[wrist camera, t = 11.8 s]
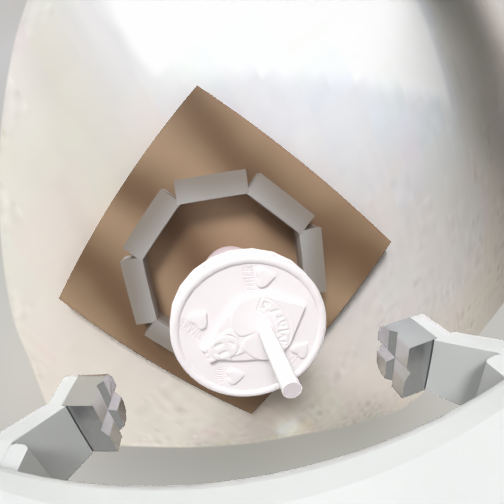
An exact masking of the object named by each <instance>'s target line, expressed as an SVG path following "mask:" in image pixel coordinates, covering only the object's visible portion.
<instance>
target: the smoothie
mask: <svg viewBox="0 0 504 504" xmlns="http://www.w3.org/2000/svg"><path fill="white" fill-rule="evenodd" d="M325 331H326V311H325V306H324V302H323V299H322V297H321V294H320V292H319V290H318V288H317V287H316V285H315V284H314V282H313V281H312V280H311V279H310V278H309V277H308V276H307V274H306V273H305V272H304V271H303V270H302V269H301V268H300V267H298V266H297V265H296V264H295V263H294V262H293V261H292V260H290V259H287V258H285V257H283V256H281V255H279V254H277V253H275V252H272V251H266V250H260V249H254V248H249V249H242V248H239V247H235V246H226V247H222V248H219V249H217V250H216V251H214V252H213V253H212V254H211V255H210V256H209V257H208V258H207V260H206V261H205V262H204V263H202V264H201V265H199V266H198V267H196V268H195V269H194V270H193V271H192V272H191V273H190V274H189V275H188V277H187V278H186V279H185V280H184V281H183V283H182V284H181V285H180V287H179V289H178V291H177V294H176V296H175V298H174V300H173V303H172V308H171V316H170V339H171V344H172V348H173V351H174V353H175V356H176V358H177V360H178V361H179V363H180V365H181V366H182V367H183V369H184V370H185V371H186V372H187V373H188V374H189V375H190V376H191V377H192V378H193V379H194V380H195V381H197V382H198V383H199V384H201V385H203V386H204V387H206V388H208V389H210V390H212V391H215V392H218V393H221V394H225V395H230V396H239V397H249V396H257V395H263V394H267V393H270V392H273V391H276V390H278V389H281V391H282V394H283V395H284V396H285V397H286V398H294V397H297V396H298V395H299V394H300V393H301V391H302V386H301V384H300V382H299V380H298V377H299V376H300V375H301V374H302V373H303V372H305V371H306V369H307V368H308V367H309V366H310V365H311V363H312V362H313V361H314V359H315V358H316V356H317V354H318V352H319V350H320V348H321V346H322V343H323V340H324V336H325Z"/></svg>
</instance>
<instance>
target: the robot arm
mask: <svg viewBox="0 0 504 504" xmlns="http://www.w3.org/2000/svg"><path fill="white" fill-rule="evenodd" d="M378 340H379V341H380V342H381V346H380V348H379V349H378V351H377V363H378V368H379V370H380V372H381V374H382V375H383V376H384V378H386V379H389V380H392V387H393V388H394V390H395V391H396V392H397V393H398V394H399V395H400V397H401V398H404V397H407V396H410V395H412V394H415V393H418V392H420V391H423V390H425V391H427V392H429V393H432V394H434V395H437V396H439V397H441V398H444V399H446V400H449V401H451V402H453V403H456V404H459V405H461V406H459V407H457V408H455V409H453V410H452V411H450V412H448V413H446V414H444V415H442V416H440V417H438V418H436V419H434V420H432V421H430V422H428V423H425V424H423V425H421V426H419V427H417V428H415V429H412V430H410V431H408V432H405V433H403V434H400V435H398V436H396V437H393V438H391V439H388V440H386V441H383V442H380V443H378V444H375V445H372V446H369V447H367V448H364V449H361V450H358V451H355V452H352V453H349V454H346V455H343V456H339V457H336V458H332V459H329V460H325V461H322V462H318V463H314V464H311V465H307V466H303V467H299V468H295V469H290V470H286V471H281V472H276V473H272V474H266V475H260V476H255V477H249V478H242V479H235V480H228V481H220V482H210V483H199V484H185V485H162V486H132V485H108V484H95V483H85V482H75V481H68V479H69V478H70V477H71V476H72V474H73V473H74V472H75V471H76V470H77V469H78V468H79V467H80V466H81V465H82V464H83V463H84V462H85V461H86V460H87V459H88V458H89V457H90V456H91V455H92V454H93V451H101V452H102V451H103V452H109V451H118V450H119V446H120V442H121V438H122V435H121V433H120V431H119V430H120V429H122V428H123V427H124V426H125V422H126V409H125V405H124V402H123V400H122V398H121V397H120V396H119V395H118V394H117V393H115V392H114V391H115V388H116V384H115V382H114V380H113V378H112V376H110V375H109V374H102V375H70V376H65V377H64V379H63V380H62V382H61V384H60V385H59V387H58V389H57V390H56V392H55V394H54V395H53V397H52V399H51V400H50V402H49V404H48V406H47V405H44V406H42V407H40V408H39V409H37V410H36V411H34V412H33V413H31V414H29V415H28V416H26V417H24V418H23V419H21V420H19V421H18V422H16V423H15V424H13V425H11V426H10V427H8V428H6V429H5V430H3V431H2V432H0V504H504V340H500V339H493V338H487V337H481V336H475V335H469V334H463V333H458V332H452V333H449V332H448V331H447V330H445V329H444V328H442V327H441V326H440V325H438V324H437V323H435V322H434V321H432V320H431V319H429V318H428V317H427V316H425V315H424V314H417V315H414V316H412V317H409V318H407V319H404V320H401V321H398V322H394V323H391V324H388V325H385V326H382V327H380V329H379V332H378Z"/></svg>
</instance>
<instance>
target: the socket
mask: <svg viewBox="0 0 504 504" xmlns="http://www.w3.org/2000/svg"><path fill="white" fill-rule="evenodd" d="M390 243H391V241H390V240H389V239H388V238H387V237H385V236H384V235H383V234H382V233H381V232H380V231H379V230H378V229H377V228H376V227H375V226H374V225H373V224H372V223H371V222H370V221H368V220H367V219H366V218H365V217H364V216H363V215H362V214H361V213H360V212H359V211H358V210H356V209H355V208H354V207H353V206H352V205H351V204H350V203H349V202H348V201H346V200H345V199H344V198H343V197H342V196H341V195H340V194H338V193H337V192H336V191H335V190H334V189H333V188H332V187H330V186H329V185H328V184H327V183H326V182H325V181H323V180H322V179H321V178H320V177H319V176H317V175H316V174H315V173H314V172H313V171H311V170H310V169H309V168H308V167H307V166H305V165H304V164H303V163H302V162H300V161H299V160H298V159H297V158H295V157H294V156H293V155H292V154H290V153H289V152H288V151H287V150H285V149H284V148H283V147H282V146H280V145H279V144H278V143H276V142H275V141H274V140H273V139H271V138H270V137H269V136H267V135H266V134H265V133H263V132H262V131H261V130H259V129H258V128H257V127H255V126H254V125H253V124H251V123H250V122H249V121H247V120H246V119H244V118H243V117H242V116H240V115H239V114H238V113H236V112H235V111H233V110H232V109H231V108H229V107H228V106H226V105H225V104H223V103H222V102H221V101H219V100H218V99H216V98H215V97H213V96H212V95H210V94H209V93H207V92H206V91H204V90H203V89H201V88H200V87H198V86H196V88H195V89H194V90H193V91H192V92H191V94H190V95H189V96H188V97H187V98H186V100H185V101H184V102H183V103H182V104H181V106H180V107H179V108H178V109H177V111H176V112H175V113H174V114H173V116H172V117H171V118H170V120H169V121H168V122H167V123H166V125H165V126H164V127H163V129H162V130H161V131H160V133H159V134H158V135H157V137H156V138H155V139H154V141H153V142H152V143H151V145H150V146H149V147H148V149H147V150H146V152H145V153H144V154H143V156H142V157H141V159H140V160H139V162H138V163H137V164H136V166H135V167H134V169H133V170H132V172H131V173H130V175H129V176H128V178H127V179H126V181H125V182H124V184H123V185H122V187H121V188H120V190H119V191H118V193H117V195H116V196H115V198H114V199H113V201H112V202H111V204H110V206H109V207H108V209H107V211H106V212H105V214H104V216H103V217H102V219H101V221H100V222H99V224H98V226H97V227H96V229H95V231H94V232H93V234H92V236H91V238H90V240H89V241H88V243H87V245H86V247H85V248H84V250H83V252H82V254H81V256H80V258H79V260H78V261H77V263H76V265H75V267H74V269H73V271H72V273H71V275H70V277H69V279H68V281H67V283H66V285H65V287H64V289H63V291H62V293H61V295H60V297H59V299H60V300H62V301H63V302H64V303H65V304H67V305H68V306H69V307H71V308H72V309H73V310H75V311H76V312H78V313H79V314H80V315H82V316H83V317H84V318H86V319H87V320H89V321H90V322H91V323H93V324H94V325H96V326H97V327H99V328H100V329H101V330H103V331H104V332H106V333H107V334H109V335H110V336H112V337H113V338H115V339H116V340H118V341H119V342H121V343H122V344H124V345H126V346H127V347H129V348H130V349H132V350H133V351H135V352H137V353H138V354H140V355H142V356H143V357H145V358H146V359H148V360H150V361H151V362H153V363H155V364H156V365H158V366H160V367H162V368H163V369H165V370H167V371H169V372H170V373H172V374H174V375H176V376H177V377H179V378H181V379H183V380H185V381H186V382H188V383H190V384H192V385H194V386H196V387H198V388H200V389H202V390H203V391H205V392H207V393H209V394H211V395H213V396H215V397H217V398H219V399H221V400H223V401H225V402H227V403H230V404H232V405H234V406H236V407H238V408H240V409H242V410H244V411H247V412H249V413H251V414H252V413H253V412H254V411H255V410H256V408H257V407H258V406H259V405H260V404H261V403H262V402H263V401H264V400H265V399H266V398H267V397H268V396H269V395H270V394H271V393H272V392H270V393H267V394H263V395H257V396H249V397H239V396H230V395H225V394H221V393H218V392H215V391H212V390H210V389H208V388H206V387H204V386H203V385H201V384H199V383H198V382H197V381H195V380H194V379H193V378H192V377H191V376H190V375H189V374H188V373H187V372H186V371H185V370H184V369H183V367H182V366H181V365H180V363H179V361H178V360H177V358H176V356H175V353H174V351H173V348H172V344H171V339H170V316H171V308H172V303H173V300H174V298H175V296H176V294H177V291H178V289H179V287H180V285H181V284H182V283H183V281H184V280H185V279H186V278H187V277H188V275H189V274H190V273H191V272H192V271H193V270H194V269H195V268H196V267H198V266H199V265H201V264H202V263H204V262H205V261H206V260H207V258H208V257H209V256H210V255H211V254H212V253H213V252H214V251H216V250H217V249H219V248H222V247H226V246H235V247H239V248H242V249H249V248H254V249H260V250H266V251H272V252H275V253H277V254H279V255H281V256H283V257H285V258H287V259H290V260H292V261H293V262H294V263H295V264H296V265H297V266H298V267H300V268H301V269H302V270H303V271H304V272H305V273H306V274H307V276H308V277H309V278H310V279H311V280H312V281H313V282H314V284H315V285H316V287H317V288H318V290H319V292H320V294H321V297H322V299H323V302H324V306H325V311H326V329H327V328H328V326H329V325H330V324H331V323H332V321H333V320H334V319H335V318H336V316H337V315H338V314H339V313H340V311H341V310H342V309H343V307H344V306H345V305H346V303H347V302H348V301H349V300H350V298H351V297H352V296H353V294H354V293H355V292H356V290H357V289H358V288H359V286H360V285H361V284H362V282H363V281H364V280H365V278H366V277H367V275H368V274H369V273H370V271H371V270H372V268H373V267H374V266H375V264H376V263H377V261H378V260H379V259H380V257H381V256H382V254H383V253H384V251H385V250H386V249H387V247H388V246H389V244H390Z"/></svg>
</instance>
